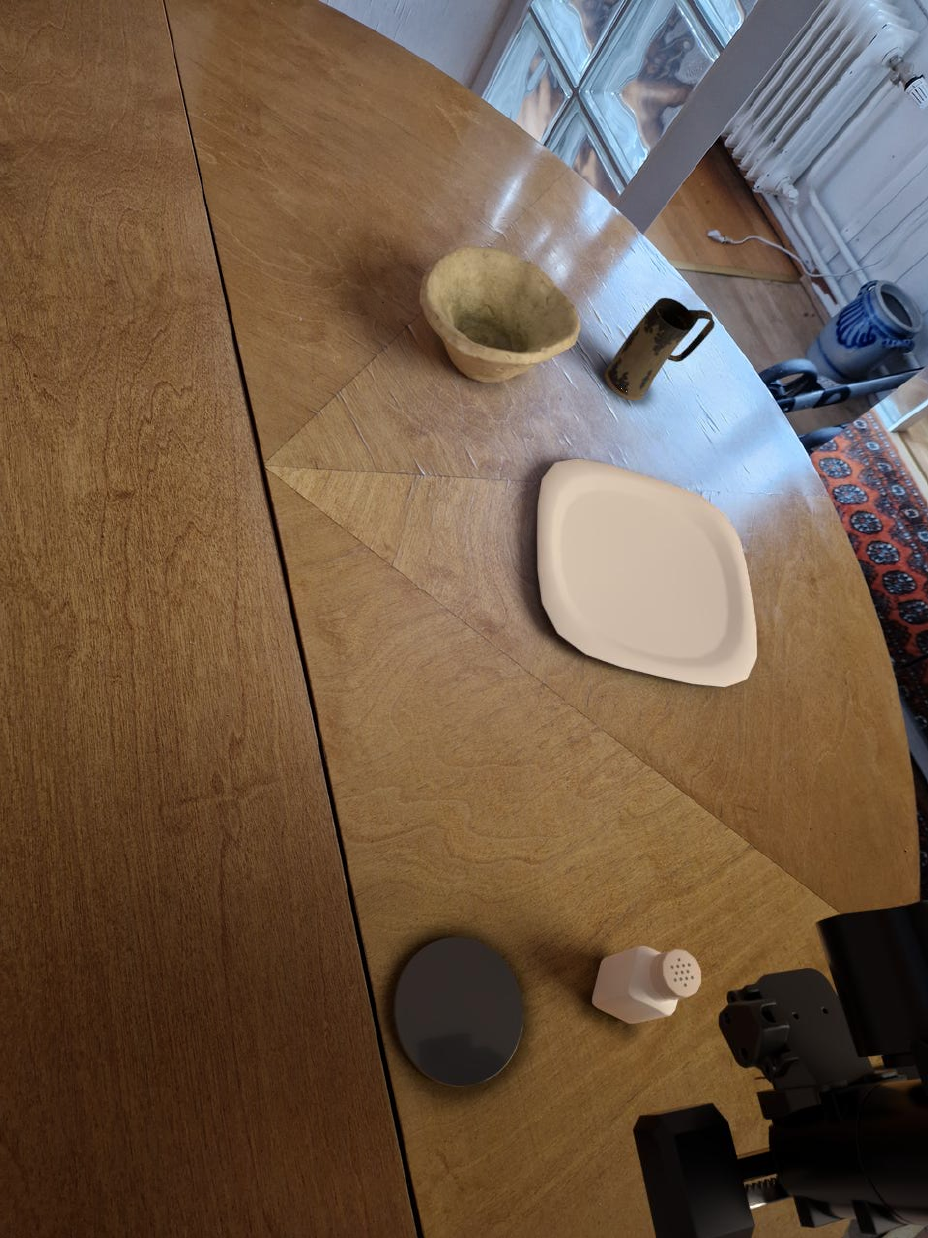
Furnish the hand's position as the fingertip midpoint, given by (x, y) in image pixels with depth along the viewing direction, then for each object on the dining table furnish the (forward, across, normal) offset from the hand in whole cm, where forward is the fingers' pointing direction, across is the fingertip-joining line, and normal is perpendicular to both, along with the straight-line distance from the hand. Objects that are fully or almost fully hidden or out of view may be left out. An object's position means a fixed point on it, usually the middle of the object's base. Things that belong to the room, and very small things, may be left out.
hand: (712, 1150), depth 54 cm
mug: (+13, -24, -77) cm, 82 cm away
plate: (+13, -18, -49) cm, 54 cm away
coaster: (+13, +10, -11) cm, 19 cm away
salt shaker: (+13, -4, -10) cm, 17 cm away
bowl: (+13, -4, -78) cm, 79 cm away
